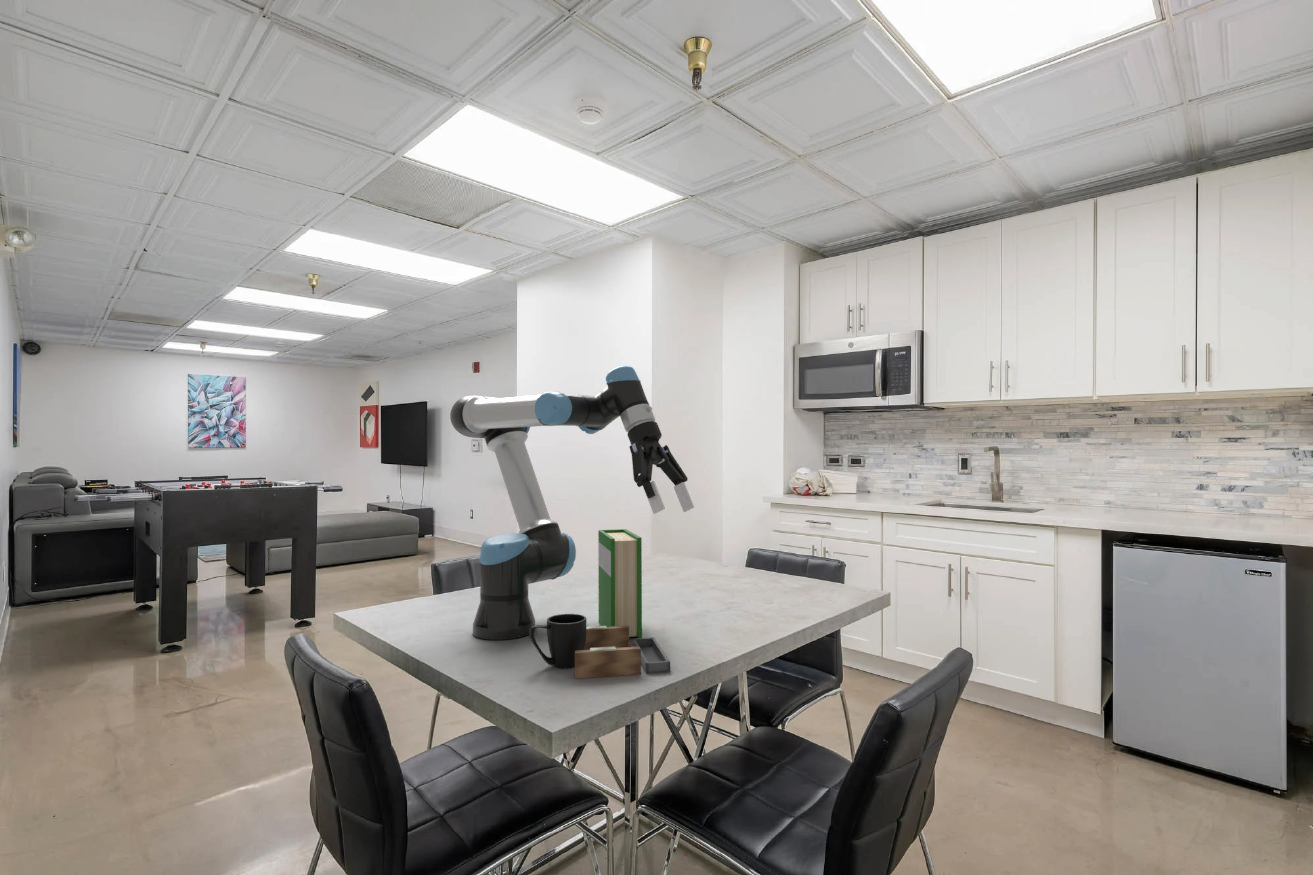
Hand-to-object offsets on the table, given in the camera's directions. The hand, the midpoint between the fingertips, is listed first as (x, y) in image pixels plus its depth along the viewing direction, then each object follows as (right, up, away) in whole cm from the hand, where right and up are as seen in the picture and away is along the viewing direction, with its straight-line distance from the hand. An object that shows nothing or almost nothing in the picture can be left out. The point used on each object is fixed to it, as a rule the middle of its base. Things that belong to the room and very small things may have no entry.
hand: (674, 510), depth 140 cm
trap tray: (-5, -31, -7) cm, 32 cm away
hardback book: (-13, -32, +15) cm, 38 cm away
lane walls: (-15, -31, -9) cm, 36 cm away
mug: (-25, -31, -10) cm, 41 cm away
